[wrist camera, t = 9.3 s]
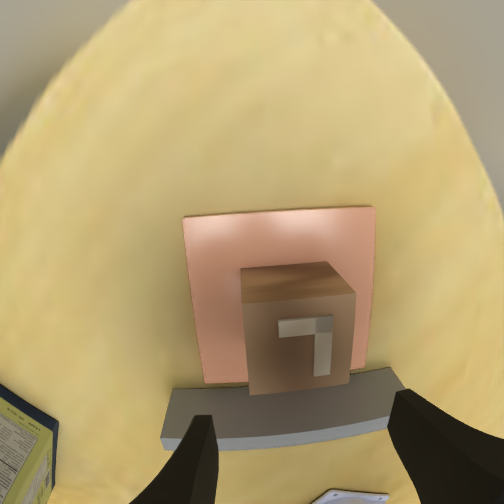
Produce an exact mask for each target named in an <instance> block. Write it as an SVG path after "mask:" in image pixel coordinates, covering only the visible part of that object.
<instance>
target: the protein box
mask: <svg viewBox="0 0 504 504" xmlns="http://www.w3.org/2000/svg"><path fill="white" fill-rule="evenodd" d="M58 426H59V423H58V421H56V420H55V419H53V418H51V417H49V416H47V415H46V414H44V413H42V412H41V411H39V410H37V409H36V408H34V407H33V406H31V405H29V404H28V403H26V402H25V401H23V400H22V399H20V398H19V397H17V396H16V395H14V394H13V393H11V392H10V391H8V390H7V389H5V388H4V387H3V386H1V385H0V504H47V502H48V499H49V497H50V495H51V492H52V490H53V487H54V485H55V464H56V449H57V437H58Z"/></svg>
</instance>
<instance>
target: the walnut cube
mask: <svg viewBox="0 0 504 504" xmlns="http://www.w3.org/2000/svg"><path fill="white" fill-rule="evenodd" d="M241 301H242V315H243V326H244V337H245V348H246V359H247V370H248V380H249V391H250V395H260V394H271V393H282V392H291V391H299V390H307V389H315V388H322V387H329V386H335V385H341V384H347V383H349V378H350V369H351V359H352V348H353V337H354V324H355V309H356V292H355V291H354V290H353V289H352V288H351V287H350V285H349V284H348V283H347V282H346V281H345V280H344V279H343V278H342V277H341V276H340V275H339V273H338V272H337V271H336V270H335V269H334V268H333V267H332V266H331V265H330V264H329V263H328V262H327V261H325V262H313V263H301V264H289V265H276V266H263V267H250V268H241Z"/></svg>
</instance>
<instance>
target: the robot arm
mask: <svg viewBox="0 0 504 504" xmlns="http://www.w3.org/2000/svg"><path fill="white" fill-rule="evenodd" d="M387 428H388V431H389V434H390V437H391V440H392V442H393V445H394V447H395V449H396V451H397V453H398V455H399V457H400V459H401V461H402V463H403V465H404V467H405V469H406V471H407V472H408V474H409V476H410V478H411V480H412V482H413V484H414V486H415V488H416V491H417V493H418V496H419V499H420V502H421V504H504V439H501V438H498V437H495V436H492V435H489V434H486V433H484V432H482V431H479V430H477V429H475V428H472V427H470V426H468V425H466V424H464V423H463V422H461V421H459V420H457V419H455V418H454V417H452V416H450V415H449V414H447V413H445V412H444V411H442V410H441V409H439V408H438V407H436V406H435V405H433V404H432V403H430V402H429V401H427V400H426V399H424V398H423V397H421V396H420V395H418V394H417V393H415V392H414V391H412V390H411V389H405V390H400V391H396V393H395V398H394V402H393V406H392V410H391V413H390V417H389V421H388V424H387ZM218 471H219V453H218V444H217V439H216V434H215V429H214V424H213V418H212V415H195V416H194V417H193V419H192V421H191V423H190V425H189V427H188V429H187V431H186V433H185V435H184V437H183V438H182V440H181V442H180V443H179V445H178V447H177V448H176V450H175V451H174V453H173V455H172V456H171V457H170V459H169V460H168V462H167V463H166V464H165V466H164V467H163V468H162V470H161V471H160V472H159V474H158V475H157V476H156V477H155V478H154V480H153V481H152V482H151V483H150V484H149V485H148V486H147V487H146V488H145V489H144V490H143V491H142V492H141V493H140V494H139V495H138V496H137V497H136V498H135V499H134V500H133V501H131V502H130V503H129V504H214V503H215V495H216V487H217V479H218ZM388 499H389V495H388V494H372V493H359V492H349V491H341V490H329V491H328V492H326V493H325V494H324V495H323V496H321V497H320V498H319V499H317V500H316V501H315V502H313V503H312V504H386V503H385V501H386V500H388Z"/></svg>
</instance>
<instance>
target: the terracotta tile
mask: <svg viewBox="0 0 504 504" xmlns="http://www.w3.org/2000/svg"><path fill="white" fill-rule="evenodd" d="M182 220H183V230H184V240H185V249H186V257H187V266H188V274H189V282H190V290H191V297H192V305H193V312H194V319H195V325H196V332H197V339H198V345H199V351H200V357H201V363H202V369H203V375H204V381H205V384H208V383H232V382H248V381H249V380H248V370H247V359H246V348H245V337H244V326H243V315H242V301H241V268H250V267H263V266H276V265H289V264H301V263H313V262H325V261H327V262H328V263H329V264H330V265H331V266H332V267H333V268H334V269H335V270H336V271H337V272H338V273H339V275H340V276H341V277H342V278H343V279H344V280H345V281H346V282H347V283H348V284H349V285H350V287H351V288H352V289H353V290H354V291H355V292H356V309H355V324H354V337H353V348H352V359H351V369H350V370H352V369H358V368H364V367H365V360H366V352H367V344H368V335H369V326H370V315H371V304H372V291H373V275H374V254H375V207H373V206H358V207H333V208H311V209H291V210H274V211H258V212H243V213H229V214H215V215H203V216H190V217H184V218H182Z"/></svg>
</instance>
